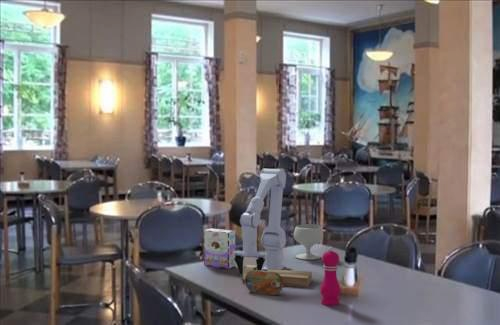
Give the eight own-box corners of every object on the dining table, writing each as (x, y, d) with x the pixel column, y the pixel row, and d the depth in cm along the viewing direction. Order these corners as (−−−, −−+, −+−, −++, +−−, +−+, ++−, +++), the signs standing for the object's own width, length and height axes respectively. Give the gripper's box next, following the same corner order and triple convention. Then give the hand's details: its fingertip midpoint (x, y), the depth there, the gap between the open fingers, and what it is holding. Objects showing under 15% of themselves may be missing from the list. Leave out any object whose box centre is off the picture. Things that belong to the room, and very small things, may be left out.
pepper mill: (327, 307, 195) (328, 250, 194) (316, 301, 202) (316, 246, 200) (344, 304, 199) (345, 247, 197) (332, 298, 205) (333, 244, 204)
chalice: (328, 257, 271) (328, 226, 270) (311, 262, 261) (311, 230, 260) (304, 253, 280) (305, 222, 280) (287, 257, 270) (287, 226, 269)
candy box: (236, 266, 253) (236, 230, 252) (228, 269, 248) (228, 232, 247) (211, 263, 260) (210, 227, 259) (203, 265, 255) (203, 229, 254)
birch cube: (246, 276, 236) (246, 265, 236) (256, 277, 234) (256, 265, 234) (242, 279, 232) (242, 267, 231) (253, 280, 230) (253, 268, 230)
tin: (244, 291, 215) (244, 269, 214) (248, 289, 218) (248, 267, 217) (280, 296, 208) (280, 274, 208) (284, 294, 211) (284, 272, 210)
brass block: (268, 278, 235) (268, 269, 234) (311, 281, 230) (311, 271, 230) (262, 284, 225) (262, 275, 225) (307, 288, 220) (307, 278, 220)
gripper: (229, 242, 231) (229, 275, 232) (263, 245, 226) (263, 278, 227) (236, 239, 237) (236, 271, 238) (269, 241, 232) (269, 274, 233)
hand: (249, 274), depth 233 cm, fingers open, 7 cm apart
